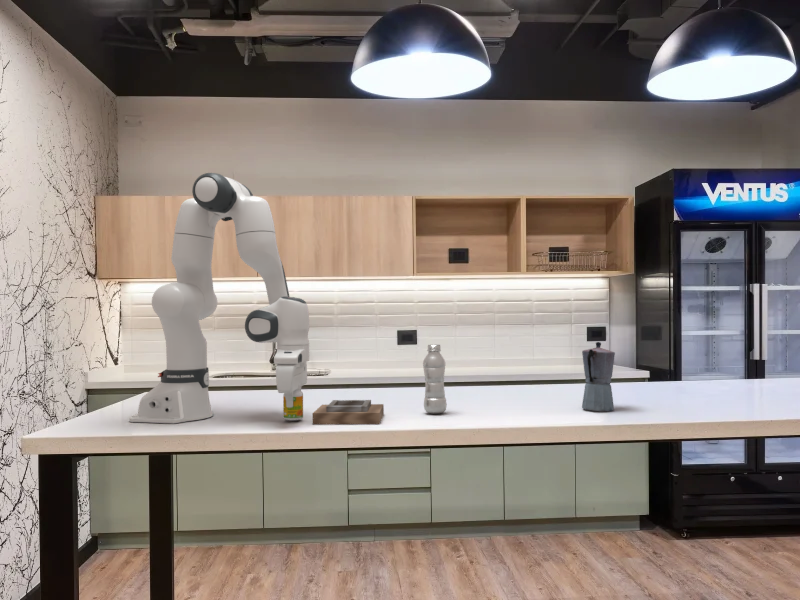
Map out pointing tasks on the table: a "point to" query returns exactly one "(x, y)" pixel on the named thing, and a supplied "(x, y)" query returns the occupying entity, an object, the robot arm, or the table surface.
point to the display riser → (349, 412)
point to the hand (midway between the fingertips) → (293, 404)
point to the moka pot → (598, 379)
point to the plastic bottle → (434, 381)
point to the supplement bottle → (297, 409)
